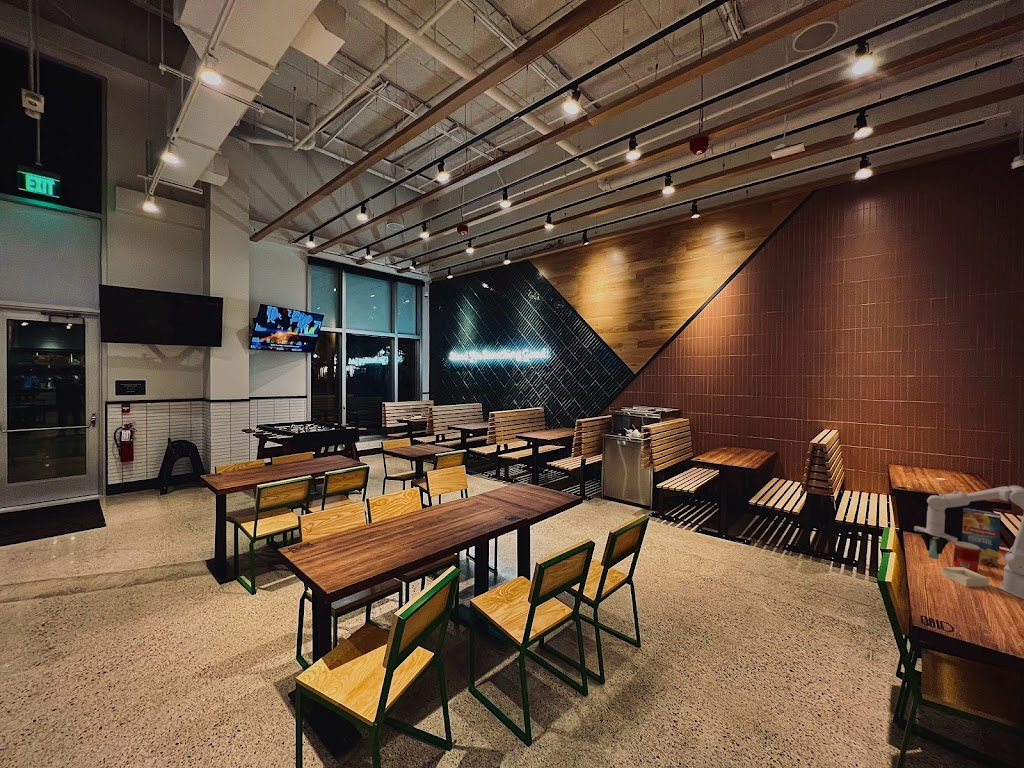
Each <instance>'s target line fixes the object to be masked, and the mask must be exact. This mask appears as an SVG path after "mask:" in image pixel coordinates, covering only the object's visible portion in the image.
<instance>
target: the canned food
mask: <svg viewBox="0 0 1024 768" xmlns="http://www.w3.org/2000/svg"><path fill="white" fill-rule="evenodd" d="M979 555H980V547H978V546H976V545H974V544H971V543H967V542H962V541H958V540H957V542H956V543H954V549H953V559H952V564H953V567H964V568H966V569H968V570H971V571H973V572H977V571H978V569H979V564H978V563H979Z"/></svg>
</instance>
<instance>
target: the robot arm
mask: <svg viewBox="0 0 1024 768" xmlns="http://www.w3.org/2000/svg"><path fill="white" fill-rule="evenodd" d="M993 499H996V500H997V499H999V500H1000V501H1001V500H1002V501H1005V502H1009V500H1010V501H1011V502H1012V503H1013V504H1015V505H1016V506H1018V507H1020V508H1021V510H1023V511H1024V487H1022V486H1020V485H1015V484H1012V485H1009V486H1006V485H1005V486H999V487H995V488H993V487H992V488H988V489H984V490H978V491H975V492H973V491H972V492H969V493H965V492H962V491H958V490H954V491H952V492H951V493H946V494H942V493H940V494H938V495H936V494H933V495H929V496H928V498H927V499H926V502H927V504H928V506H927V510H926V527H922V526H918V525H915V526H914V527H913V531H915V532H919V533H920V537H921V538H922V540H923V543H924V545H925V549H926V551H928V552H929V546H930V539H934V537H935V539H936V541H937V554H939V555H942V553H943V551H944V549H945V547H946V546H947V544H948V543H950V542H951V543H954V544H955V543H956V542H957V541H958V537H956V536H952V535H950V534H947V533H946V532H945V526H946V524H945V522H946V521H945V520H946V513H945V512H946V511H945V510H946V509H947V508H957V507H963V506H968V505H969V504H970V503H971V502H977V501H978V502H979V501H986V500H993ZM1022 514H1023V515H1022V517H1021V520H1020V523H1019V527H1018V529H1017V534H1016V537H1015V539H1014V543H1013V545H1012V546H1011V547H1010V549H1009V551H1008V552H1006V553H1005V554H1004V556H1003V559H1004V560H1003V561H1004V562H1005V563H1006V565H1005V566H1004V567H1003V581H1002V585H996V586H995V587H996V588H997V589H999V590H1001V591H1003V592H1006V593H1008V594H1009V595H1010V594H1011V595H1013V596H1014V597H1017V598H1018V599H1022V600H1024V513H1022Z"/></svg>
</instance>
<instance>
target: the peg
mask: <svg viewBox="0 0 1024 768" xmlns="http://www.w3.org/2000/svg"><path fill="white" fill-rule="evenodd" d="M936 539H937V538H933V539H930V546H929V551H928V557H929V558H931V559H933V560H939V559H940V554H937V541H936Z"/></svg>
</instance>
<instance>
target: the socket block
mask: <svg viewBox="0 0 1024 768" xmlns="http://www.w3.org/2000/svg"><path fill="white" fill-rule="evenodd" d="M940 573H941V576H942V577H945V578H946V579H949V580H951V581H953V582H955V583H957V584H959V585H962V586H963V587H966V588H967V587H968V588H973V587H989V582H990V581H989V580H990V579H989V577H987V576H984V575H982V574H980V573H977V572H976V571H974V572H973V571H971V570H968V569H966V568H964V567H956V566H953V567H950V566H949V567H943V566H942V567H941V572H940Z"/></svg>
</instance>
